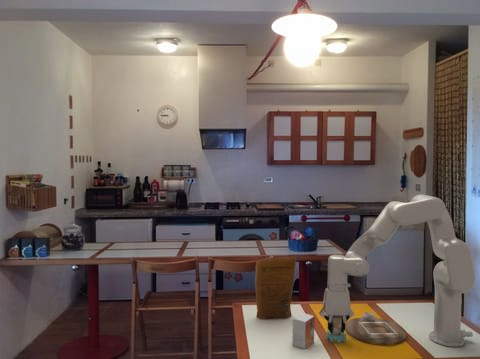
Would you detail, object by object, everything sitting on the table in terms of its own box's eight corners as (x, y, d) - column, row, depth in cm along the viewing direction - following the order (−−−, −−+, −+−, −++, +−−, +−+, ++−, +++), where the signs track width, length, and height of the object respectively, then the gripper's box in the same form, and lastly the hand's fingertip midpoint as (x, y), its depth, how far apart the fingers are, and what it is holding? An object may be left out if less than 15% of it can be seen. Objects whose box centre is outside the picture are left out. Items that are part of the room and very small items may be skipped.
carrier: (391, 320, 181) (391, 310, 181) (416, 344, 157) (417, 333, 157) (338, 320, 180) (338, 310, 180) (355, 345, 156) (356, 334, 156)
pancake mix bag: (297, 319, 181) (298, 257, 180) (255, 321, 179) (256, 258, 177) (293, 313, 188) (294, 254, 187) (252, 315, 185) (253, 255, 184)
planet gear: (342, 334, 166) (343, 312, 166) (348, 343, 158) (349, 320, 158) (324, 334, 166) (324, 313, 165) (329, 343, 158) (329, 320, 158)
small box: (304, 349, 153) (305, 322, 152) (291, 345, 156) (292, 318, 156) (314, 342, 159) (315, 315, 159) (301, 338, 163) (302, 312, 162)
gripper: (355, 283, 165) (353, 327, 166) (314, 283, 165) (313, 327, 165) (361, 289, 158) (360, 335, 159) (318, 289, 157) (317, 335, 158)
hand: (336, 331), depth 162 cm, fingers closed on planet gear, 4 cm apart
